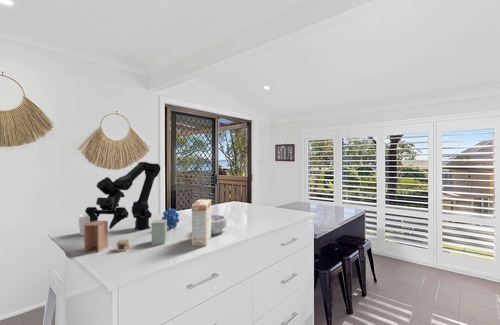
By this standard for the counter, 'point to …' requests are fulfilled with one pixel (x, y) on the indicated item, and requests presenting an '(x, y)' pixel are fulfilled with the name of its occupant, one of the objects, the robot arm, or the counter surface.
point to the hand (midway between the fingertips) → (100, 228)
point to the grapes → (171, 217)
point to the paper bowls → (217, 223)
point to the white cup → (83, 222)
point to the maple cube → (122, 245)
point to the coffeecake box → (201, 222)
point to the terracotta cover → (95, 235)
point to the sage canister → (159, 231)
